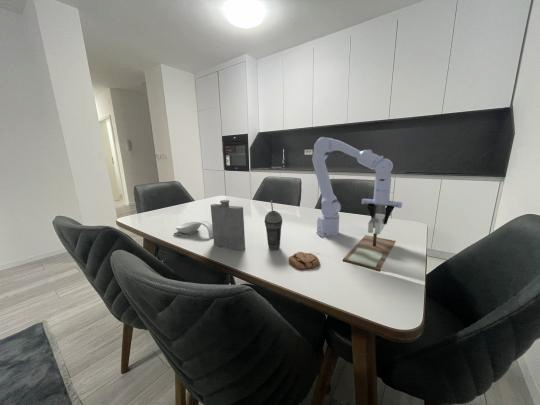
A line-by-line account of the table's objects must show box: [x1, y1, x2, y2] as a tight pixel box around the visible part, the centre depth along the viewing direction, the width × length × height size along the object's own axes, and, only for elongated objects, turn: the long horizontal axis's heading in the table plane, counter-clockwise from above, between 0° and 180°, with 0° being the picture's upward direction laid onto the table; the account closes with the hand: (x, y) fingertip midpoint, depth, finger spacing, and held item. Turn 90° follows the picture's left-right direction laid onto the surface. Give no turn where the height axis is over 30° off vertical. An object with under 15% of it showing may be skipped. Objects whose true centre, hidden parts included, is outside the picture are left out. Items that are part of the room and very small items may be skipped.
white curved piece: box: [175, 220, 213, 239], centre depth 110 cm, size 24×12×7 cm, turn 59°
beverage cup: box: [264, 199, 283, 251], centre depth 89 cm, size 7×7×20 cm
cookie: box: [288, 251, 321, 271], centre depth 78 cm, size 10×11×3 cm
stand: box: [342, 232, 397, 273], centre depth 84 cm, size 28×12×6 cm, turn 142°
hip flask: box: [210, 199, 246, 251], centre depth 91 cm, size 16×4×20 cm, turn 61°
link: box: [367, 212, 386, 235], centre depth 88 cm, size 11×4×4 cm, turn 142°
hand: (379, 222), depth 91 cm, fingers closed on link, 4 cm apart
